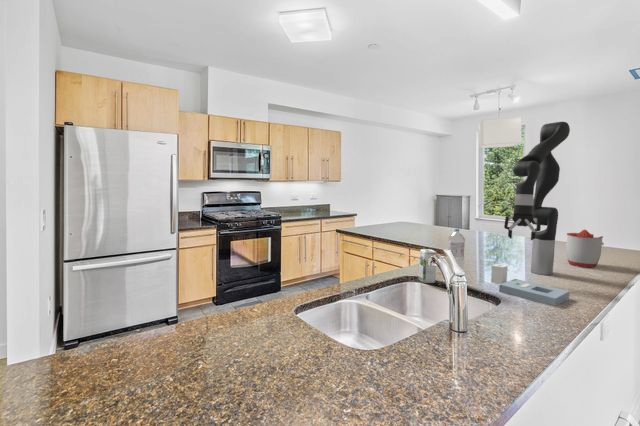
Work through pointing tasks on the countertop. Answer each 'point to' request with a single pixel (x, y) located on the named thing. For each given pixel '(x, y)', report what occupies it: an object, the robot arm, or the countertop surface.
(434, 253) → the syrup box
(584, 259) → the citrus juicer
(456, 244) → the water bottle
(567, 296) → the plate
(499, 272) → the charger plug
